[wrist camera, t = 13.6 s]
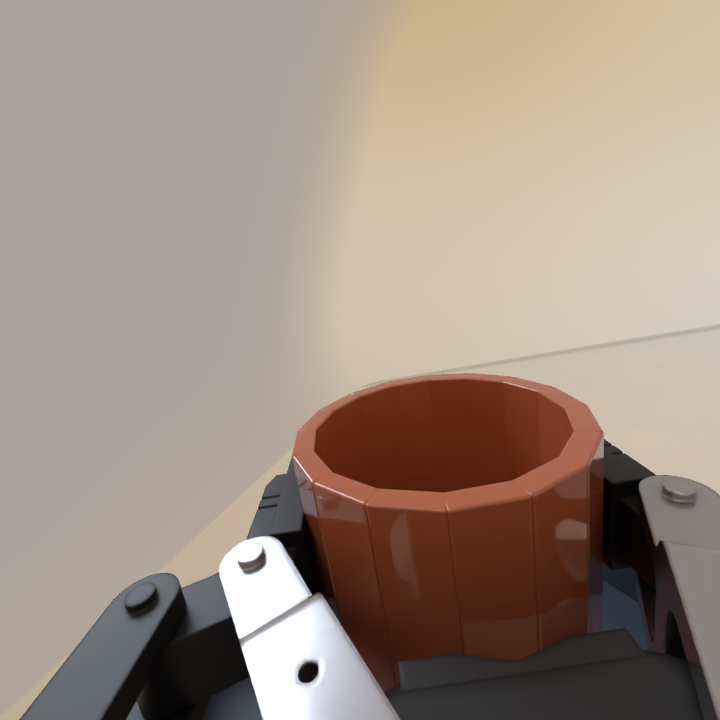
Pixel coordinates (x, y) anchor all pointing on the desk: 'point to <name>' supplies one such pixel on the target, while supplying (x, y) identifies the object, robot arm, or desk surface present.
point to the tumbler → (455, 517)
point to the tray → (620, 610)
